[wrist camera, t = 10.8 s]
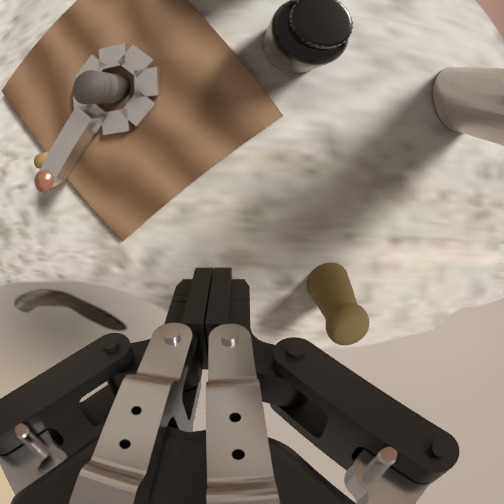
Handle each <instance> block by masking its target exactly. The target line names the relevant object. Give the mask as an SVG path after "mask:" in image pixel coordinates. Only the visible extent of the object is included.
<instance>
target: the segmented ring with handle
mask: <svg viewBox="0 0 504 504" xmlns="http://www.w3.org/2000/svg"><path fill="white" fill-rule="evenodd" d="M154 62H155V60H154V59H153V58H151V57H150V56H149V55H147V54H146V53H145V52H143V51H142V50H141V49H139V48H138V47H137V46H135V45H132V46H131V47H130V48H129V50H128V44H126V43H123V44H119V45H114V46H110V47H106V48H102V49H99V58H98V57H97V56H96V55H91V56H90V57H89V58H88V60H87V61H86V62H85V64H84V65H83V67H82V68H81V69H80V71H79V72H78V74H77V75H76V76H75V77H76V78H77V77H78V76H79V75H80V74H81V73H83V72H85V71H87V70H95V71H100V72H105V71H106V70H108V69H112V68H117V67H121V66H123V67H124V68H125V69H127V70H128V71H129V72H130V73H132V74H133V75H134V88H135V94H134V95H133V97H132V98H131V99H130V100H129V102H128V103H127V104H126V105H125V107H124V108H123V109H120V110H115V111H110V112H108V111H107V110H106V109H105V108H103V107H102V106H101V105H100V104H86V105H85V104H80V103H79V102H77V101H76V100H75V98H74V96H73V102H74V111H73V112H72V114H71V116H70V117H69V119H68V120H67V122H66V124H65V125H64V127H63V129H62V130H61V132H60V134H59V135H58V137H57V139H56V141H55V142H54V144H53V146H52V148H51V150H50V152H49V153H48V155H47V157H46V159H45V161H44V163H43V165H42V167H41V169H40V171H39V172H38V173H37V174H36V176H35V186H36V188H37V189H38V190H39V191H40V192H47V191H48V190H50V189H52V188H53V187H55V186H57V185H58V184H60V183H62V182H64V181H65V180H66V179H67V178H68V177H69V175H70V173H71V171H72V170H73V168H74V166H75V165H76V163H77V161H78V160H79V158H80V156H81V155H82V153H83V152H84V150H85V148H86V147H87V145H88V144H89V142H90V141H91V139H92V138H93V136H94V135H95V133H99V132H100V131H101V129H103V135H107V134H113V133H119V132H125V131H130V130H132V126H131V122H132V123H133V124H134V125H135V126H139V125H140V124H141V123H142V121H143V120H144V119H145V118H146V117H147V115H148V114H149V113H150V112H151V110H152V109H153V108H154V107H155V106H156V104H157V103H156V102H155V101H153V100H152V99H151V98H150V97H151V96H158V95H160V78H159V68H158V67H153V68H150V67H151V65H152V64H153V63H154Z"/></svg>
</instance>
